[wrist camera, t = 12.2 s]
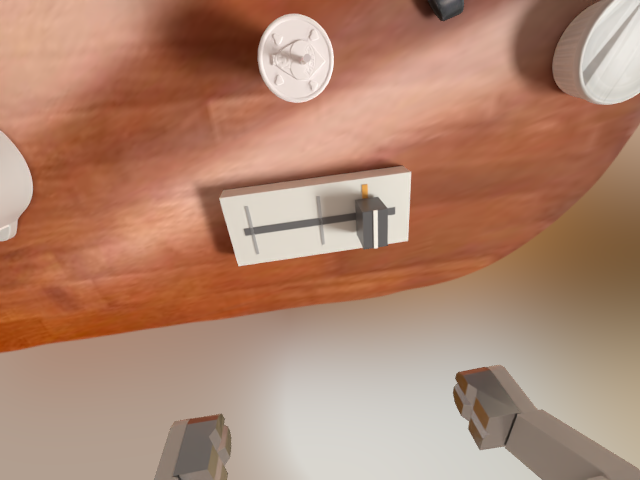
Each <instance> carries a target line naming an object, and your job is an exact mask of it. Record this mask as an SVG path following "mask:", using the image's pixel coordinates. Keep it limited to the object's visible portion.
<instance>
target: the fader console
mask: <svg viewBox="0 0 640 480" xmlns="http://www.w3.org/2000/svg"><path fill="white" fill-rule="evenodd" d="M410 188H411V171H409V170H408V169H407V168H405V167H404V166H397V167H390V168H382V169H375V170H368V171H360V172H353V173H346V174H338V175H331V176H323V177H316V178H309V179H301V180H294V181H287V182H279V183H272V184H265V185H257V186H250V187H243V188H235V189H228V190H223V191H222V193H221V195H220V197H219V200H220V203H221V207H222V210H223V214H224V217H225V221H226V224H227V228H228V231H229V235H230V238H231V242H232V245H233V249H234V252H235V256H236V259H237V263H238V266H243V265H250V264H257V263H263V262H270V261H277V260H283V259H290V258H297V257H304V256H310V255H317V254H324V253H330V252H337V251H344V250H350V249H357V248H363V247H362V244H361V242H360V240H359V238H358V236H357V231H356V211H355V200H358V199H365V198H372V197H379V198H380V200H381V201H382V202H383V203H384V205H385V206H386V207H387V208H388V244H391V243H397V242H404V241H408V230H409V209H410Z"/></svg>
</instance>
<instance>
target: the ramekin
mask: <svg viewBox="0 0 640 480" xmlns="http://www.w3.org/2000/svg"><path fill="white" fill-rule="evenodd" d="M552 71H553V77H554V80H555V82H556V84H557V85H558V87H559V88H560V89H561V90H562V91H563V92H565V93H566V94H569V95H571V96H574V97H578V98H581V99H585V100H587V101H589V102H591V103H594V104H603V105H608V104H616V103H620V102H623V101H626V100H628V99H630V98H632V97H634V96H635V95H637V94H639V93H640V0H601V1H599V2H596V3H595V4H593V5H591V6H589V7H588V8H586V9H585V10H584V11H582V12H581V13H580V14H579V15H578V16H576V17H575V19H574V20H573V21H572V22H571V23H570V24H569V26H568V27H567V28H566V30H565V31H564V33H563V34H562V36H561V38H560V40H559V42H558V44H557V46H556V49H555V52H554V56H553V63H552Z"/></svg>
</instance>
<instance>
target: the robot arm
mask: <svg viewBox="0 0 640 480" xmlns="http://www.w3.org/2000/svg"><path fill="white" fill-rule="evenodd" d="M32 193H33V183H32V177H31V174H30V171H29V168H28V166H27V163H26V161H25V160H24V158H23V156H22V155H21V153H20V152H19V150H18V149H17V148H16V146H15V145H14V144H13V143H12V141H11V140H10V139H9V138H8V137H7V136H6V135H5V134H4V133H3V132H2V131H1V130H0V241H6V240H8V239H10V238H13V237H14V236H15V235H16V231H17V222H18V218H19V217H20V215H21V214H22V213H23V212H24V211H25V210H26V208H27V207H28V205H29V203H30V201H31V198H32ZM455 379H456V381H457V382H458V383H457V384H456V385H455V386H454V390H453V396H454V401H455V404H456V406H457V408H458V410H459V412H460V414H461V416H462V417H464V418H465V419H467V420H468V421H469V431H470V433H471V435H472V436H473V439H474V440H475V442H476V444H477V446H478V448H479V449H480V450H484V449H490V448H497V447H503V446H506V447H505V448H506V449H507V450H508V451H509V452H511V453H512V454H513V455H514V456H515V457H516V458H518V459H519V460H520V461H521V462H522V463H523V464H525V465H526V466H527V467H528V468H529V469H530V470H532V471H533V472H534V473H535V474H536V475H537V476H538V477H540V478H541V479H542V480H640V470H639V469H638V468H637V467H635V466H633V465H632V464H630V463H628V462H627V461H625V460H624V459H622V458H620V457H619V456H617V455H616V454H614V453H612V452H611V451H609V450H607V449H605V448H604V447H602V446H601V445H599V444H598V443H596V442H594V441H593V440H591V439H589V438H588V437H586V436H584V435H583V434H581V433H580V432H578V431H576V430H575V429H573V428H572V427H570V426H568V425H567V424H565V423H563V422H562V421H560V420H558V419H557V418H555V417H554V416H552V415H550V414H549V413H547V412H546V411H544V410H537V408H536V407H535V406H534V405H533V403H532V402H531V401H530V399H529V398H528V397H527V396H526V394H525V393H524V392H523V391H522V389H521V388H520V387H519V385H518V384H517V383H516V382H515V380H514V379H513V378H512V376H511V375H510V374H509V373H508V371H507V370H506V369H505V368H504V367H503V366H501V365H495V366H489V367H482V368H477V369H472V370H467V371H462V372H458V373H457V374H456V378H455ZM224 420H225V419H224V417H223V415H222V414H216V415H211V416H205V417H199V418H193V419H186V420H180V421H175V422H174V423H173V425H172V427H171V428H170V431H169V434H168V438H167V441H166V444H165V447H164V450H163V453H162V456H161V459H160V463H159V466H158V469H157V472H156V475H155V478H154V480H227V476H228V473H227V471H226V469H225V467H224V466H225V464H226V463H227V461H228V460H229V458H230V452H231V434H230V430H229V428H228V426H226V425H224Z"/></svg>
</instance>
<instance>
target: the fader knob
mask: <svg viewBox="0 0 640 480" xmlns="http://www.w3.org/2000/svg"><path fill="white" fill-rule="evenodd" d="M355 211H356V231H357V236H358V238H359V240H360V242H361V244H362V247H363V249H369V248H374V249H375V248H378V247H383V246H388V208H387V207H386V206H385V205H384V203H383V202H382V201H381V200H380V198H379V197H372V198H365V199H358V200H355Z"/></svg>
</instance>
